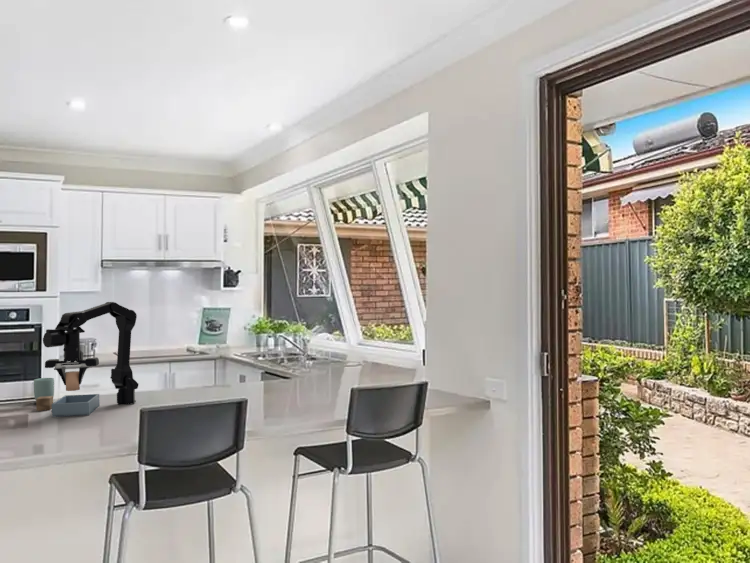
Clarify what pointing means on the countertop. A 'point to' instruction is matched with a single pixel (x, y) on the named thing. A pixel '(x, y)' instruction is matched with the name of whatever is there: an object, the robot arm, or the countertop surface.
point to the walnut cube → (44, 403)
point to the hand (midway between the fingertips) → (72, 384)
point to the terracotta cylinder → (72, 381)
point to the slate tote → (75, 405)
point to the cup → (43, 387)
